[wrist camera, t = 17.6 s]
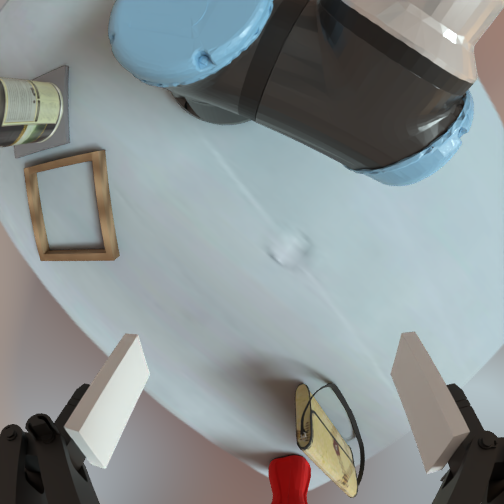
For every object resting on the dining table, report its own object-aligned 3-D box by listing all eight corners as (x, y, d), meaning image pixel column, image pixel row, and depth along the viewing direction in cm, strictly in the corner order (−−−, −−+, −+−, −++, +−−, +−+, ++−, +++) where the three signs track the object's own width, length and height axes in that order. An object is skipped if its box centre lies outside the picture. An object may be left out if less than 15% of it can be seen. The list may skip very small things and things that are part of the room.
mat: (17, 89, 35) (13, 89, 34) (68, 66, 34) (64, 65, 33) (18, 157, 40) (15, 158, 39) (69, 142, 39) (66, 143, 38)
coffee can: (48, 153, 39) (-15, 165, 25) (15, 129, 37) (-45, 136, 24) (74, 93, 35) (9, 87, 22) (37, 74, 34) (-23, 67, 21)
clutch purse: (369, 440, 57) (379, 491, 43) (341, 450, 59) (348, 501, 45) (324, 364, 49) (335, 431, 35) (288, 378, 51) (289, 446, 37)
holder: (31, 167, 40) (23, 168, 39) (105, 150, 39) (98, 150, 37) (47, 256, 46) (40, 260, 44) (119, 255, 45) (113, 260, 43)
